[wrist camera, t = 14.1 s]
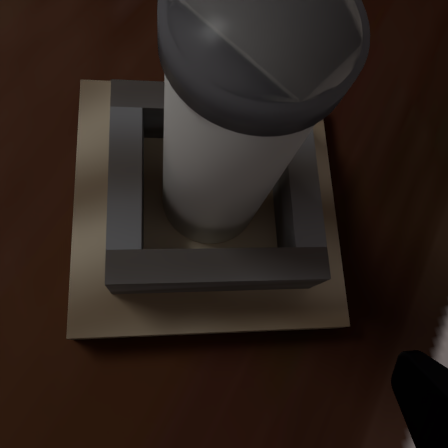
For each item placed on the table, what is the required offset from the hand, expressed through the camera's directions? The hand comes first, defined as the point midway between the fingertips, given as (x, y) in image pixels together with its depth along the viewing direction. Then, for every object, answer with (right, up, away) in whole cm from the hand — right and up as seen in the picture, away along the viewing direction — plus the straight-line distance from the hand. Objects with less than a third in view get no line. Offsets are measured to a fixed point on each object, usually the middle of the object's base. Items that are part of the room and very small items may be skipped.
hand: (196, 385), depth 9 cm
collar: (0, +4, +16) cm, 16 cm away
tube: (0, +5, +14) cm, 15 cm away
